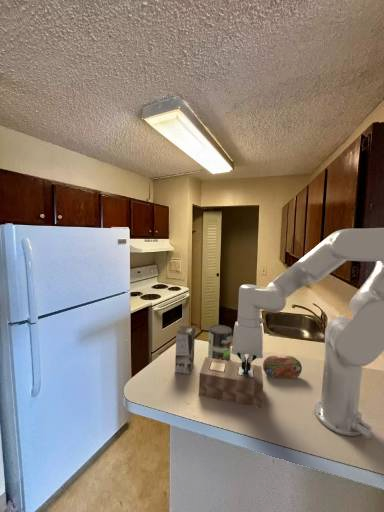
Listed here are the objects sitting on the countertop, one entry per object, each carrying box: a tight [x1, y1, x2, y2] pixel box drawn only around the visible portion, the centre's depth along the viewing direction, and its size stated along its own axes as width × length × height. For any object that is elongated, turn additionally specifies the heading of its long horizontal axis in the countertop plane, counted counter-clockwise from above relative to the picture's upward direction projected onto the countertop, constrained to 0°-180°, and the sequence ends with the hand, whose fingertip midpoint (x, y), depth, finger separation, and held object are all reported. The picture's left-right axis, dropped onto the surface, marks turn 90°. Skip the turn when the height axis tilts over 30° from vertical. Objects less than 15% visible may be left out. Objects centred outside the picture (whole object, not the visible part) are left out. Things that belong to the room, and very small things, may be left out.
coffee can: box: [207, 324, 233, 361], centre depth 103 cm, size 10×10×14 cm
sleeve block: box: [198, 356, 264, 409], centre depth 81 cm, size 21×11×8 cm, turn 76°
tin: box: [262, 355, 303, 380], centre depth 91 cm, size 15×3×8 cm, turn 92°
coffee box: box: [174, 325, 196, 375], centre depth 95 cm, size 9×6×16 cm
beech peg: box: [210, 362, 225, 373], centre depth 83 cm, size 5×5×8 cm
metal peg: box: [238, 367, 253, 378], centre depth 80 cm, size 5×5×8 cm
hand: (245, 371), depth 80 cm, fingers closed
